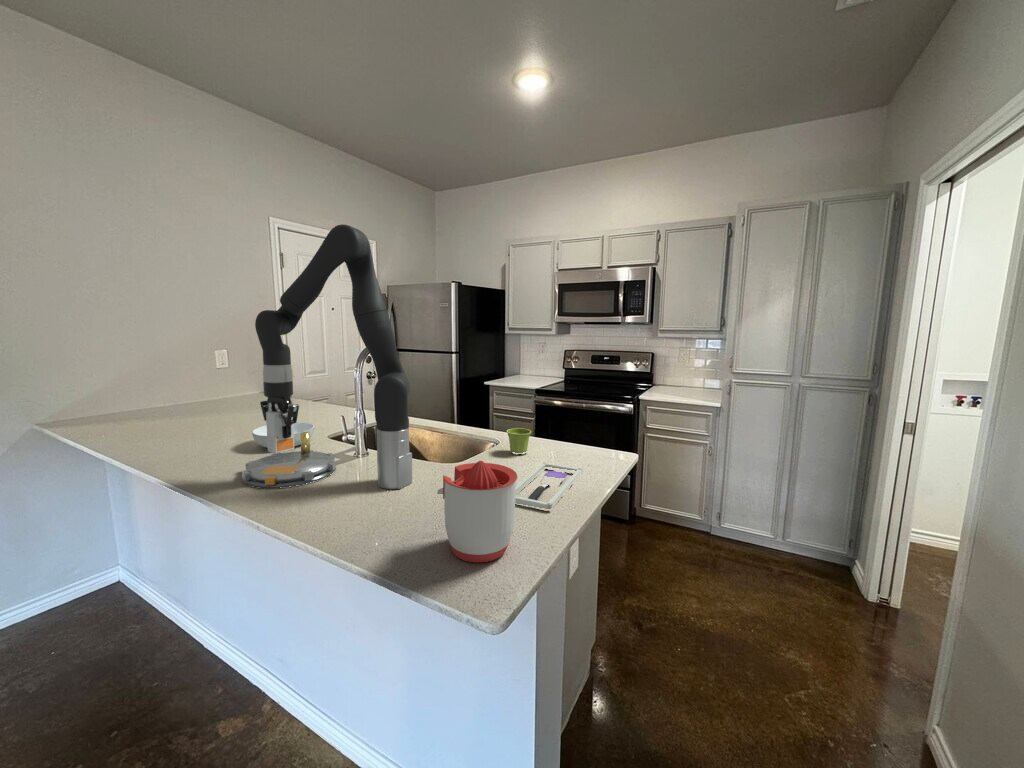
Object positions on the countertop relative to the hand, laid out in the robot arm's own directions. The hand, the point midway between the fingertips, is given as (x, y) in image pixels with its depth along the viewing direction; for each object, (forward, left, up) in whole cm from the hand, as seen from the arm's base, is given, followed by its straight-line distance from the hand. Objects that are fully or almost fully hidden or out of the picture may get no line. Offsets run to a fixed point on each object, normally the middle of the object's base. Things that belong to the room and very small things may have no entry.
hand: (280, 436), depth 125 cm
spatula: (-73, -30, -14) cm, 80 cm away
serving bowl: (+31, -25, -14) cm, 42 cm away
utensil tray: (-73, -33, -14) cm, 81 cm away
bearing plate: (+3, -6, -14) cm, 15 cm away
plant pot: (-52, -60, -14) cm, 80 cm away
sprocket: (+3, -6, -12) cm, 14 cm away
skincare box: (0, 0, -5) cm, 5 cm away
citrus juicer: (-71, +7, -14) cm, 72 cm away
